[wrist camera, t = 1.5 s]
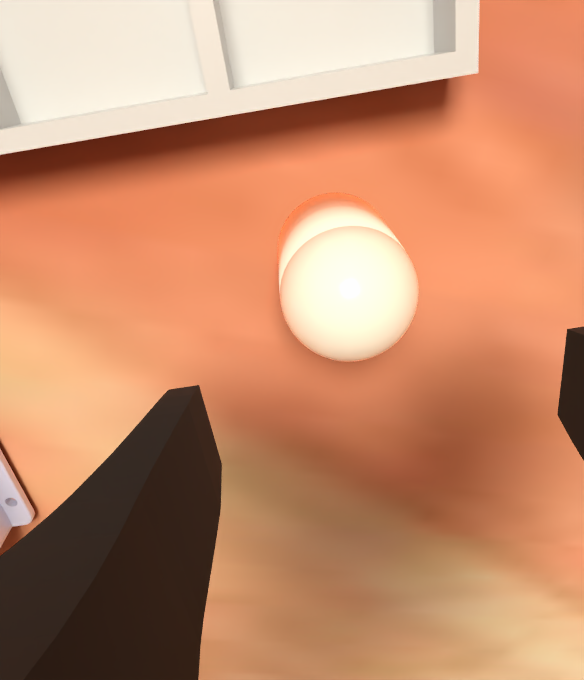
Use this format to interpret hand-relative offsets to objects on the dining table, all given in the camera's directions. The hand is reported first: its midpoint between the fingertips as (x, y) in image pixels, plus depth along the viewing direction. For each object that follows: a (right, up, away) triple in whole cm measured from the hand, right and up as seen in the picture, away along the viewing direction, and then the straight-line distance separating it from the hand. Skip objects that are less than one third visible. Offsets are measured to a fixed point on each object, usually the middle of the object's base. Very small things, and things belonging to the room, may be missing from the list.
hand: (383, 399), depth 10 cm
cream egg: (0, +4, +8) cm, 10 cm away
